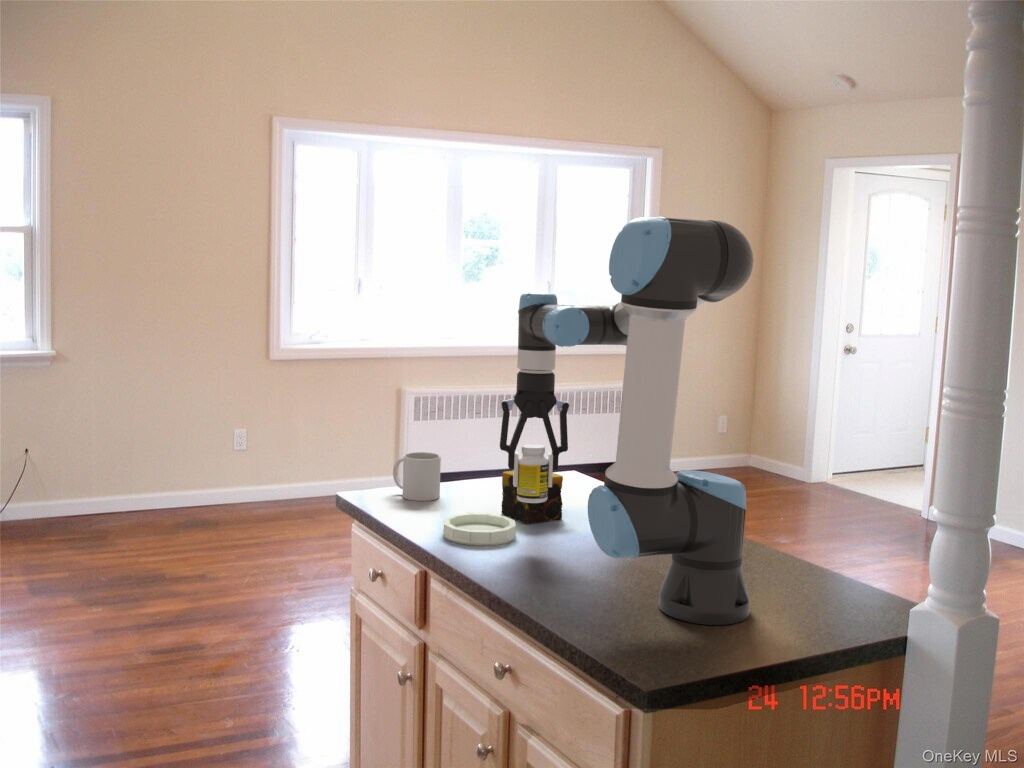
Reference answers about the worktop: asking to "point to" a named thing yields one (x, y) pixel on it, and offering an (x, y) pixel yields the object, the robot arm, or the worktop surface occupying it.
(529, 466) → the pill bottle
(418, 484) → the mug
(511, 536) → the sage dish
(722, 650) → the worktop surface
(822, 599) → the worktop surface
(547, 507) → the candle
